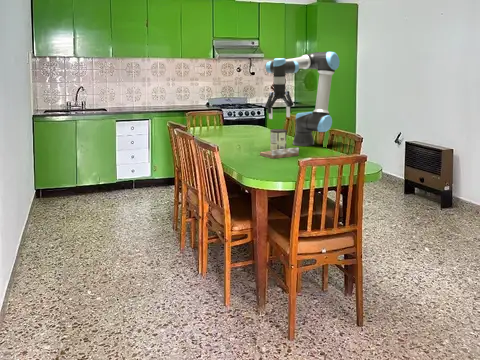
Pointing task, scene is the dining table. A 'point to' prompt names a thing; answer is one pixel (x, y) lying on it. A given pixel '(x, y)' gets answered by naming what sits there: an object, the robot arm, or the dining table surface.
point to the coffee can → (278, 139)
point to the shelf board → (281, 153)
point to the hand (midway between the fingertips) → (279, 117)
